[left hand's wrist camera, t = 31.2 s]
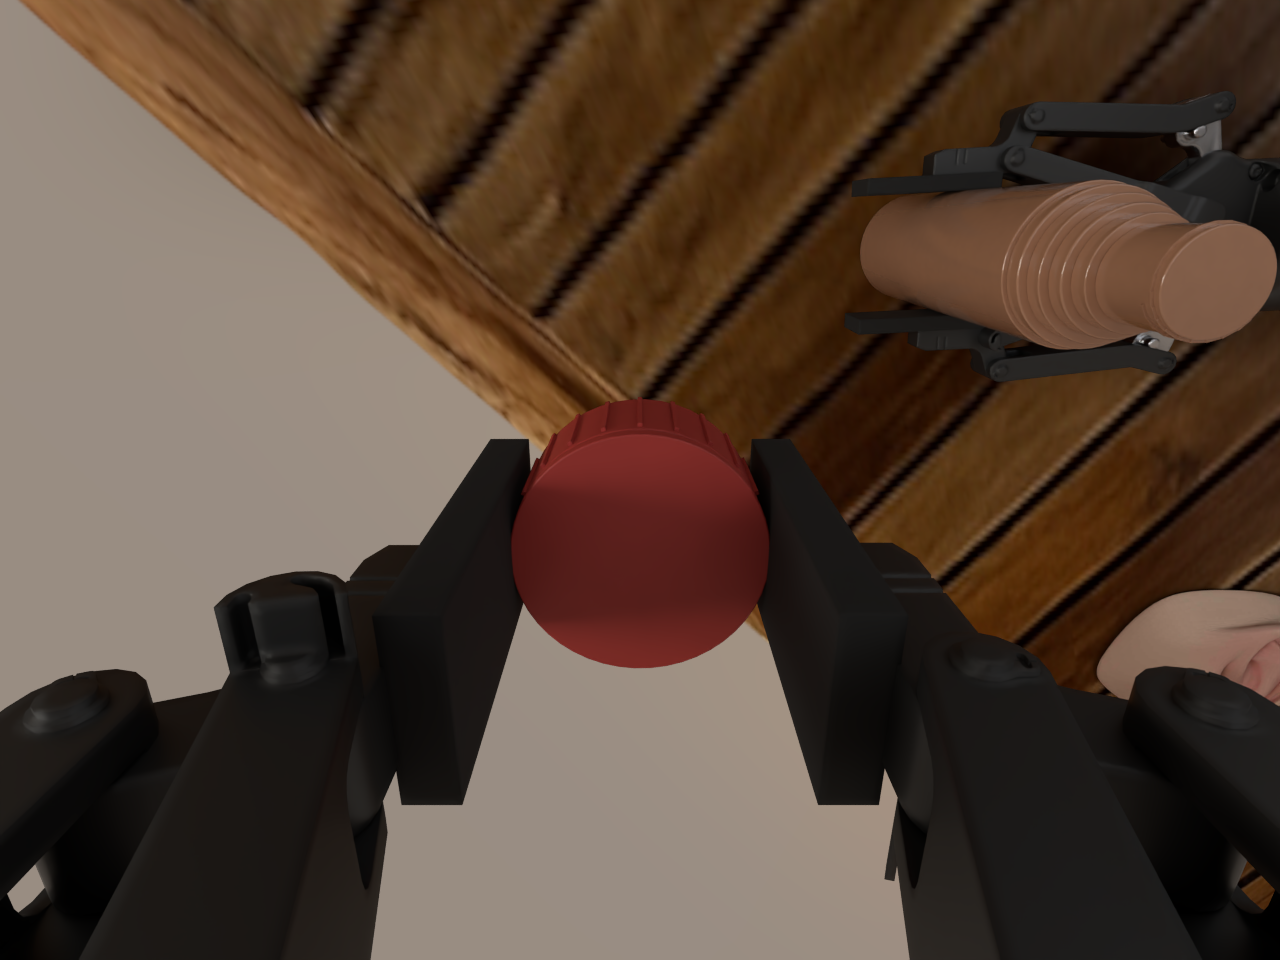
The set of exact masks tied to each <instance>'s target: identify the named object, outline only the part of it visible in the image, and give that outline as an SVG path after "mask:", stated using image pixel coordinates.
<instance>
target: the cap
mask: <svg viewBox="0 0 1280 960" xmlns="http://www.w3.org/2000/svg"><path fill="white" fill-rule="evenodd" d="M759 494H760V493H759V491H758V489H757V487H756V484H755V482H754V480H753V477H752V475H751V473H750V470H749V468H748V466H747V464H746V461H745V459H744V457H743V458H740V456H739V455H738V453H737V451H736V449H735V448H734V446H733V445H732V443H731V441H730V438H729V436H728V434H727V433H725V434H723V433H722V432H721V431H720V430H719V429H718V428H717V427H716V426H714V425H713V424H712V423H710V422H709V421H707V420H706V419H705V416H704V415H703V414H700V415H698V414H696V413H694V412H692V411H691V410H688V409H686V408H683V407H680V406H678V405H675V402H672V401H671V402H670V403H667V402H663V401H655V400H646V399H644V400H642V397H638V400H625V401H618V402H613V403H610V401H608V402H605V405H603V406H600V407H597V408H595V409H593V410H590V411H588V412H586V413H584V414H583V415H580V414H578V415H576V417H575V419H574V420H573V421H572V422H570V423H569V424H568V425H567V426H565V427H564V428H563V429H562V430H561V431H560V432H559V433H558V434H557V435H556V434H555V433H554V434H553V435H552V437H551V439H550V442H549V444H548V446H547V447H546V449H545V450H544V452H543V454H542V456H541V458H540V459H538V458H536V460H535V462H534V465H533V467H532V469H531V472H530V474H529V476H528V479H527V481H526V483H525V486H524V488H523V490H522V493H521V495H523V496H524V497H523V499H522V502H521V504H520V506H519V509H518V512H517V515H516V517H515V520H514V523H513V528H512V533H511V551H512V565H513V577H514V582H515V585H516V587H517V590H518V592H519V595H520V597H521V599H522V601H523V603H524V604H525V606H526V608H527V610H528V611H529V613H530V614H531V615H532V617H533V618H534V619H535V620H536V622H537V623H538V624H539V625H540V626H541V627H542V628H543V629H544V630H545V631H546V632H547V633H548V634H549V635H550V636H551V637H553V638H554V639H555V640H556V641H558V642H559V643H560V644H562V645H563V646H565V647H567V648H568V649H570V650H572V651H573V652H575V653H577V654H580V655H582V656H584V657H586V658H588V659H591V660H594V661H597V662H600V663H604V664H609V665H613V666H618V667H628V668H654V667H662V666H668V665H672V664H676V663H680V662H684V661H686V660H689V659H692V658H695V657H697V656H699V655H701V654H703V653H705V652H707V651H709V650H711V649H712V648H714V647H715V646H717V645H719V644H720V643H722V642H723V641H724V640H726V639H727V638H728V637H729V636H730V635H732V634H733V633H734V632H735V631H736V630H737V629H738V628H739V627H740V626H741V625H742V624H743V622H744V621H745V620H746V619H747V618H748V616H749V615H750V613H751V612H752V610H753V609H754V608H755V606H756V604H757V602H758V600H759V598H760V596H761V594H762V592H763V589H764V586H765V583H766V580H767V570H768V557H769V542H770V534H769V529H768V525H767V521H766V518H765V515H764V513H763V510H762V508H761V505H760V503H759V500H758V498H757V495H759Z"/></svg>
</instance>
